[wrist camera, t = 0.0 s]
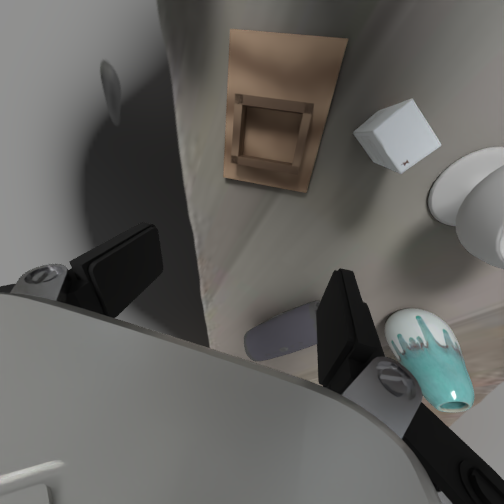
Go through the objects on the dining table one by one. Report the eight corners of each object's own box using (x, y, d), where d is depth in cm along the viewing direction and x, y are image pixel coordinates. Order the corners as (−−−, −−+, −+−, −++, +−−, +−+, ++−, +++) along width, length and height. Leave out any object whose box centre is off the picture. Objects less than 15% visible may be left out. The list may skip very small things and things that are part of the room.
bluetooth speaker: (268, 339, 62) (261, 371, 54) (247, 320, 60) (237, 350, 52) (334, 313, 51) (339, 348, 42) (312, 288, 49) (313, 321, 40)
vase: (448, 328, 45) (516, 426, 30) (391, 341, 51) (426, 428, 36) (428, 293, 42) (494, 383, 27) (370, 310, 48) (399, 392, 33)
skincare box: (400, 141, 31) (444, 146, 21) (372, 162, 33) (400, 176, 23) (378, 108, 29) (414, 96, 19) (351, 132, 32) (370, 132, 22)
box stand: (232, 32, 29) (222, 18, 26) (346, 42, 27) (352, 28, 23) (225, 176, 40) (217, 180, 36) (306, 191, 38) (306, 197, 34)
